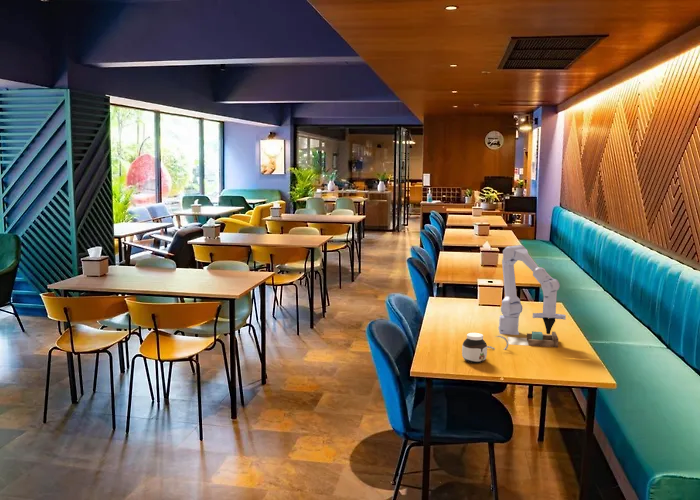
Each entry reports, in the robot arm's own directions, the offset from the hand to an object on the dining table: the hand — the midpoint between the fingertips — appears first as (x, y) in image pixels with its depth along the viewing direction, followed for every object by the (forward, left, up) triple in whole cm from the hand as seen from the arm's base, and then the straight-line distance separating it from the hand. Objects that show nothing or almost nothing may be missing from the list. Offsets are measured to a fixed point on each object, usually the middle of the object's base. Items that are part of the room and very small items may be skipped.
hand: (548, 333), depth 292 cm
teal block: (-5, 0, -5) cm, 7 cm away
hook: (-29, -14, -6) cm, 32 cm away
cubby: (-7, 0, -5) cm, 9 cm away
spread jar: (-34, -30, -6) cm, 46 cm away
